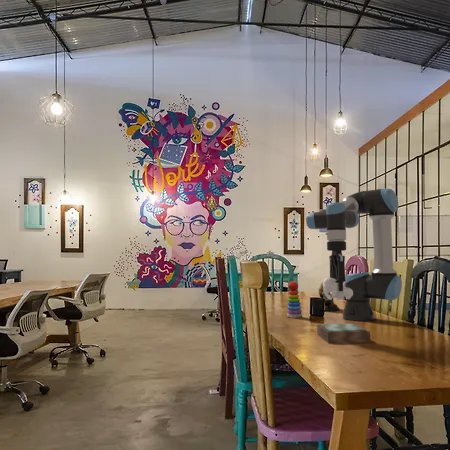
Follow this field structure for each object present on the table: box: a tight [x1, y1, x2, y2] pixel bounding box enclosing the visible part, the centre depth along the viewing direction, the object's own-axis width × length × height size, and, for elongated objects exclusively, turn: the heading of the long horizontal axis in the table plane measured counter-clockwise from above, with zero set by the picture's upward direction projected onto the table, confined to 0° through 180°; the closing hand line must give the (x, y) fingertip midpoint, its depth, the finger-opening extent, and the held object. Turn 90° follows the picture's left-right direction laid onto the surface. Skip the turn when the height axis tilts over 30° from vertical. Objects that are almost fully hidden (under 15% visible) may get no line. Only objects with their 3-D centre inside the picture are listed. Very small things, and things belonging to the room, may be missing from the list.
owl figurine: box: [318, 281, 340, 313], centre depth 242 cm, size 18×12×17 cm, turn 164°
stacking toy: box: [286, 280, 303, 319], centre depth 217 cm, size 8×8×19 cm
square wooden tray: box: [316, 323, 371, 344], centre depth 163 cm, size 16×16×4 cm
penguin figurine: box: [322, 277, 353, 300], centre depth 165 cm, size 6×8×12 cm
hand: (337, 298), depth 165 cm, fingers closed on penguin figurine, 6 cm apart
